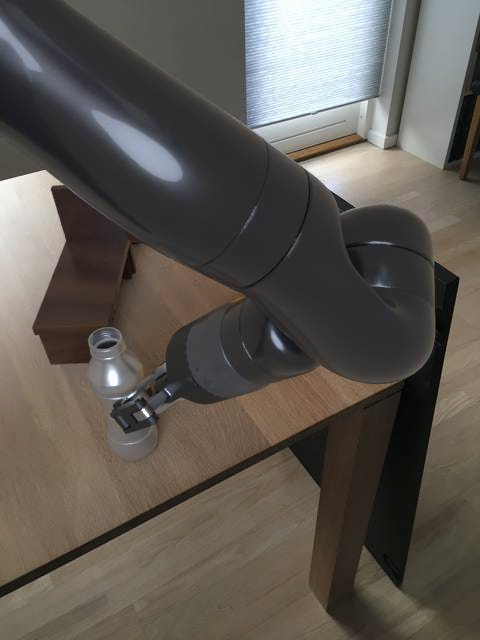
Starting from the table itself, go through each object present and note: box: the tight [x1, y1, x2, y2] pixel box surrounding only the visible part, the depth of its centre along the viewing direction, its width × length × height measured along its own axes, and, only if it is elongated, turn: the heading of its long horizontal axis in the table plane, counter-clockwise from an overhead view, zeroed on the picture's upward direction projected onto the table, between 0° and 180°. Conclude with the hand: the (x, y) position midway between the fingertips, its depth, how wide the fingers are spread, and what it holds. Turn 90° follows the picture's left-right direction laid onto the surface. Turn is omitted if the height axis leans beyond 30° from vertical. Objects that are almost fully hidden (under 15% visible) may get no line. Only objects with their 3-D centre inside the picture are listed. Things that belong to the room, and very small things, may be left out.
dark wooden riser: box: [31, 184, 137, 365], centre depth 86 cm, size 24×11×18 cm, turn 1°
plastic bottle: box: [85, 326, 159, 462], centre depth 65 cm, size 6×7×20 cm
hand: (148, 385), depth 58 cm, fingers open, 8 cm apart
